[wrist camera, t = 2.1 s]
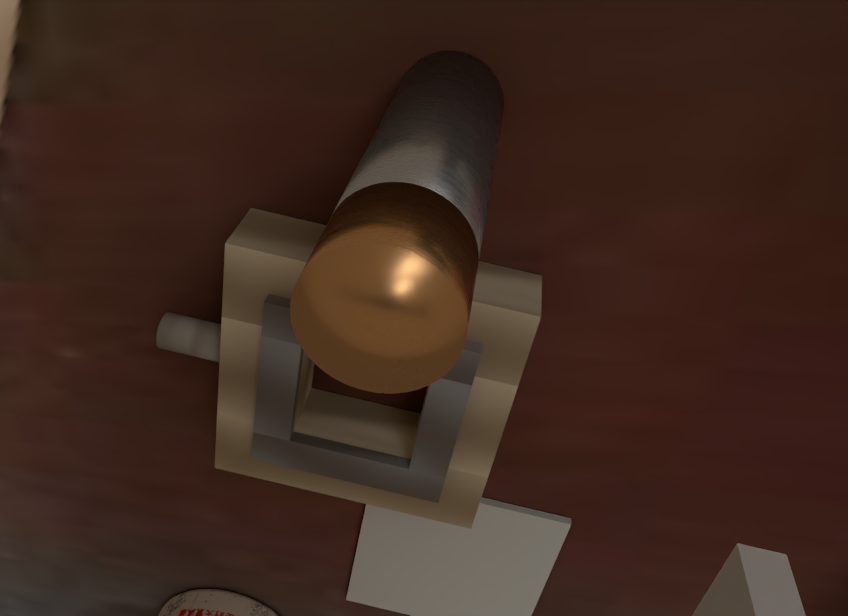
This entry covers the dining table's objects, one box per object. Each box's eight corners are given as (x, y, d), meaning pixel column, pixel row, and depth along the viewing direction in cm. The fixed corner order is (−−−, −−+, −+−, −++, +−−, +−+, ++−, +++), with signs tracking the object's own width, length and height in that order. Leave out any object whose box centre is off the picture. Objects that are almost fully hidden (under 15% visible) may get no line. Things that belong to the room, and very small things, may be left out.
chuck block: (178, 191, 32) (139, 232, 29) (542, 275, 32) (540, 326, 29) (177, 410, 38) (144, 461, 35) (476, 481, 38) (469, 539, 35)
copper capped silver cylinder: (408, 39, 27) (298, 225, 16) (515, 64, 27) (485, 268, 16) (390, 141, 29) (282, 371, 18) (490, 164, 29) (447, 410, 18)
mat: (373, 471, 39) (371, 477, 39) (571, 518, 39) (571, 524, 38) (347, 594, 44) (346, 599, 44) (520, 635, 44) (519, 641, 44)
